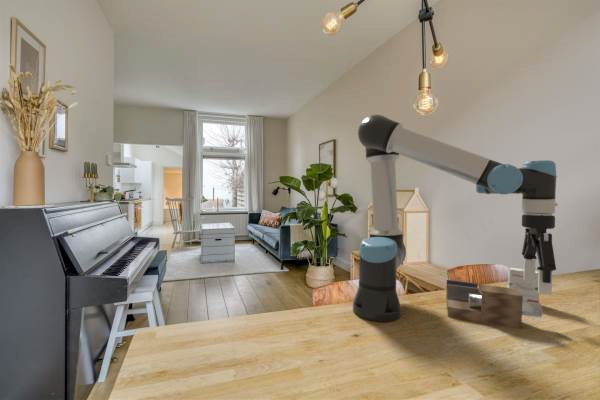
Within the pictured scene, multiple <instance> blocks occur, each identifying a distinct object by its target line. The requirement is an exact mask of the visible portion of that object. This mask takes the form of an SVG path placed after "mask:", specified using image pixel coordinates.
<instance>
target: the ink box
mask: <svg viewBox="0 0 600 400" xmlns="http://www.w3.org/2000/svg"><path fill="white" fill-rule="evenodd" d="M538 275H539V270H535V281H530V280H524V268H517V267H516V268H515V267H508V275H507V276H508V278H507V279H508V280H507V288H514V289H517V290H518V291H519V293H520V294H521V295H522V296H523V300H522V301H527V302H535V303H540V294H539V293H538Z"/></svg>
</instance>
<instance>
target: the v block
mask: <svg viewBox="0 0 600 400" xmlns="http://www.w3.org/2000/svg"><path fill="white" fill-rule="evenodd" d="M478 289H479V284H478V282H471V281H469V282H468V281H461V280H453V279H446V290H445V292H446V294H445V296H446V300H447V299H448V300H454V301H461V302H468V303H469V301H468V299H469V294H476V295H478Z"/></svg>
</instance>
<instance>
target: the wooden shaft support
mask: <svg viewBox="0 0 600 400" xmlns="http://www.w3.org/2000/svg"><path fill="white" fill-rule="evenodd" d="M478 288H479V289H478V295H481V308H475V307H469V303H468V302H461V301H454V300H448V299H447V298H446V312H447V313H446V314H447V317H449V318H450V317H452V318H456V319H457V318H458V319H462V320H469V321H473V320H474V322H480V323H485V322H486V323H485V324H491V323H493V324H492V325H497V324H498V326H503V327H504V326H505V327H510V328H517V329H522V322H523V321H522V319H523V315H522V300H523V296H522V295H521V294H520V293H519V291H518V290H517V289H514V288H508V287H503V286H496V285H489V284H481V283H479V284H478Z"/></svg>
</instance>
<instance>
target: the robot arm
mask: <svg viewBox="0 0 600 400" xmlns="http://www.w3.org/2000/svg"><path fill="white" fill-rule="evenodd" d="M357 132H358V133H357V136H358V140H359V142H360V143H361V145H362V146H363V147H364V148H365V159H366V161H367V162H368V163H370V180H371V181H370V182H371V197H372V199H371V201H372V202H371V203H372V219H373V220H372V222H373V223H372V224H373V229H371V231H370V232H369V237H367V238H364V239H362V240H361V242H360V244H359V248H358V249H359V250H358V255H359V257H358V258H359V259H358V260H359V262H358V263H359V264H358V287H357V290H356V293H355V296H354V299H353V302H352V311H353V313H354V314H355V315H356V316H358V317H361V318H362V319H366V320H369V321H374V322H394V321H397V320H398V319H400V318H401V317H402V306H401V303H400V300H399V299H400V298H399V296H398V295H399V294H398V292H397V269H398V268H399V267H400V266H401V265H402V264H403V262H404V261H405V258H406V254H407V249H406V246H405V243H404V233H403V231H402V230H401V229H400V228H399V219H398V200H397V198H398V197H397V175H396V161H397V159H398V158H399V157H400V155H401V156H404V157H406V158H409V159H411V160H414V161H416V162H419V163H421V164H424V165H426V166H429V167H431V168H435V170H438V171H441V172H444V173H447V174H449V175H451V176H453V177H456V178H458V179H459V178H460V179H462V180H465V181H467V182H469V183H471V184H475V192H477V193H478V194H486V195H492V194H496V195H497V194H499V195H509V194H511V195H513V194H514V195H515V194H517V195H520V194H521V195H522V198H521V212H522V213H523V214H522V215H521V226H522V227H523V228H525V230H524V231H525V234H524V239H523V245H522V246H523V247H522V250H521V251H522V252H521V255H522V256H523V260H524V261H523V269H524V280H530V281H535V271H538V272H539V275H538V293H539V295H540V294H541V295H549V296H552V295H553V294H552V291H553V289H552V288H553V287H552V286H553V272H554V271H556V270H557V265H556V259H555V253H554V247H553V235H552V233H550V232H548V233H547V230H552V229H554V228H556V216H555V215H554V214H555V213H556V207H558V205H559V204H558V203H557V202H556V191H557V189H556V188H557V177H558V175H557V167H556V166H557V165H556V164H557V163H555V162H554V161H553V160H549V159H548V160H545V159H544V160H543V159H542V160H541V159H540V160H528V161H524V162H523V164H522V167H520V168H518V167H517V166H515V165H512V164H508V163H507V164H505V163H501V162H498V161H496V160H492V159H490V158H487V157H484V156H482V155H480V154H477V153H474V152H471V151H467V150H465V149H462V148H459V147H456V146H454V145H452V144H448V143H446V142H443V141H440V140H437V139H434V138H433V137H429V136H426V135H424V134H421V133H417V132H414V131H411V130H409V129H406V128H404V126H403V123H400V122H397V121H394V119H393V120H392V119H391V118H388V117H386V116H384V115H381V114H373V115H370V116H367V117H366V118H364V119H363V120H362V121H361V123H360V124H359V126H358V130H357ZM536 260H538V264H539V266H538V267H537V270H536Z"/></svg>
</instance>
